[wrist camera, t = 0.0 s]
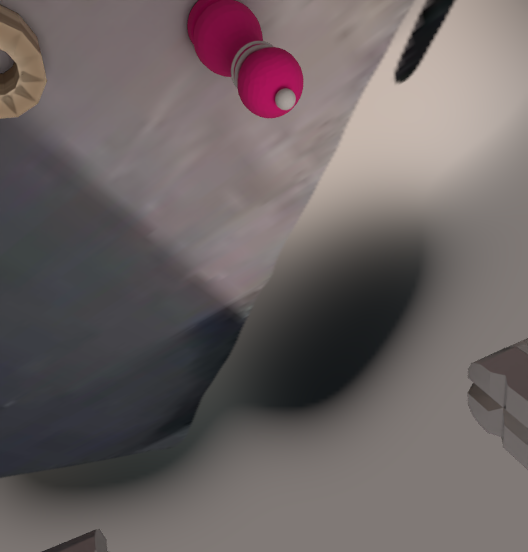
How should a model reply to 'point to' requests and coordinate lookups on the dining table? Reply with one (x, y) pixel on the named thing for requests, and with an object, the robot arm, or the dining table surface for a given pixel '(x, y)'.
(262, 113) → the pepper mill
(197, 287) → the dining table surface
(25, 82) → the bead
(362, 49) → the dining table surface
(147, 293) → the dining table surface
